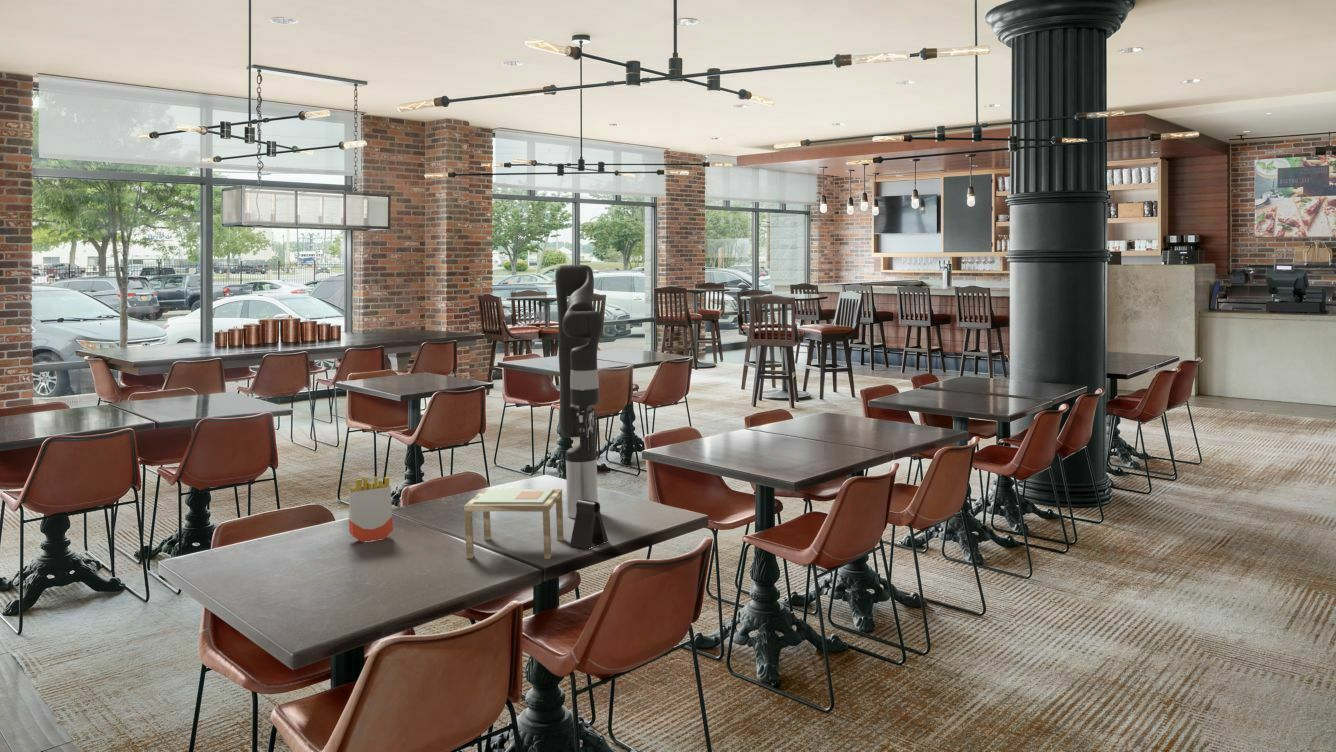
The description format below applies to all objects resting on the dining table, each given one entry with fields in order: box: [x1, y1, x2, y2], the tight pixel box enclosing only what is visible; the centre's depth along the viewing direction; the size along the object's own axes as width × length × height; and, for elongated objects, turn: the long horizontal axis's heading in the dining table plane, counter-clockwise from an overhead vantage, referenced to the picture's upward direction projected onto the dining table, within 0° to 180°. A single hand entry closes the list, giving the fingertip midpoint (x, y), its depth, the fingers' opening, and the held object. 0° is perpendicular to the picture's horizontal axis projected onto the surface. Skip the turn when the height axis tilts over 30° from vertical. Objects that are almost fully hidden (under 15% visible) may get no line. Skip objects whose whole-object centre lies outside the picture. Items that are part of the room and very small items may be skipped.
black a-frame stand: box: [569, 500, 609, 550], centre depth 254 cm, size 9×6×12 cm, turn 144°
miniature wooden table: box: [463, 488, 564, 560], centre depth 252 cm, size 18×22×14 cm
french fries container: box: [348, 476, 394, 543], centre depth 262 cm, size 5×11×18 cm, turn 121°
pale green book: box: [474, 488, 553, 504], centre depth 251 cm, size 14×18×2 cm
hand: (586, 449), depth 252 cm, fingers open, 5 cm apart
